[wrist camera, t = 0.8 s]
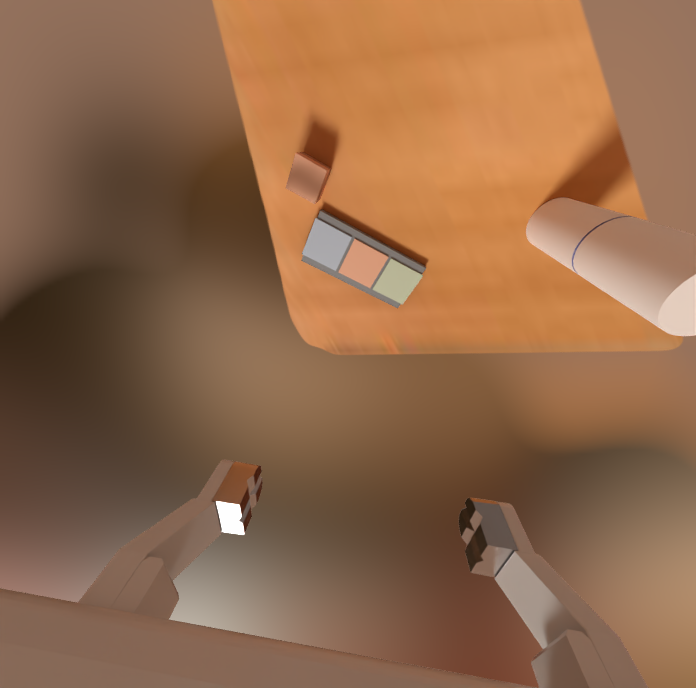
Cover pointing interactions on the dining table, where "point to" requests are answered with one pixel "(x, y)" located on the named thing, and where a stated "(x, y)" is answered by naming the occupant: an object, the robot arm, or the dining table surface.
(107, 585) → the robot arm
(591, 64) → the dining table surface
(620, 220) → the cylindrical container
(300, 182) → the terracotta cube
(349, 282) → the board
